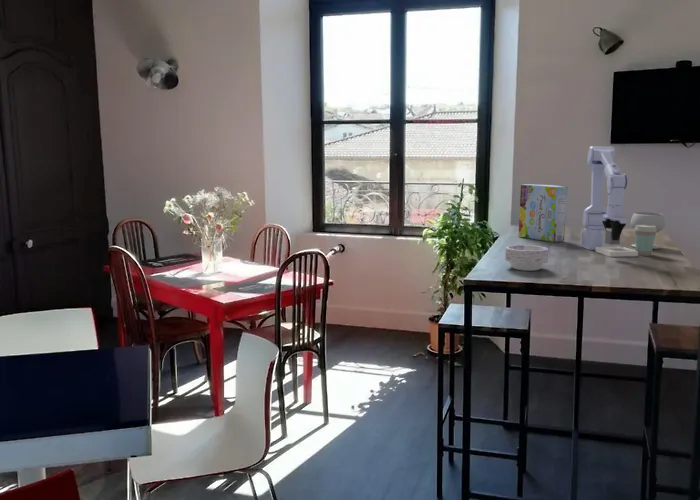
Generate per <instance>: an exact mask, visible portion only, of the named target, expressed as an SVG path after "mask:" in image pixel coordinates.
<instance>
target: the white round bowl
mask: <svg viewBox="0 0 700 500" xmlns="http://www.w3.org/2000/svg"><path fill="white" fill-rule="evenodd" d="M504 253H505V255H504V260H505V261H506V262H509V264H510V267H511V268H512V269H513V270H517V271H525V272H527V271H528V272H533V271H539V270H541V269H542V267H543V266H544V264H547V263H548V262H549V248H548V247H545V246H540V245H531V244H530V245H527V244H526V245H525V244H522V245H521V244H517V245H515V244H514V245H508V246H505V252H504Z"/></svg>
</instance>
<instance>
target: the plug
mask: <svg viewBox="0 0 700 500" xmlns="http://www.w3.org/2000/svg"><path fill="white" fill-rule="evenodd" d="M620 242H621V236H620V237H619V240H613V238H612V228H606V231H605V236H604V243H605V244H607V245H620Z"/></svg>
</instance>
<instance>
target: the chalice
mask: <svg viewBox="0 0 700 500" xmlns="http://www.w3.org/2000/svg"><path fill="white" fill-rule="evenodd" d="M630 219H631V220H630V227H631V228H632V229H633V230H634V231H635V227H636V225H652V226H656V229H657V232H656V234H657V233H658V232H659V233H660V232H661V231H663V230H664V229H665V227H666V224H667V223H666V218H665V215H664V214H663V213H660V212H659V213H658V212H651V211H647V212H645V211H638V212H636V211H635V212H634V213H632V216H631V218H630ZM630 245H631V247H633V248H636V244H635V243H632V244H630ZM661 248H662V246H660V245H657V244H653V249H652V250H659V249H661Z"/></svg>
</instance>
